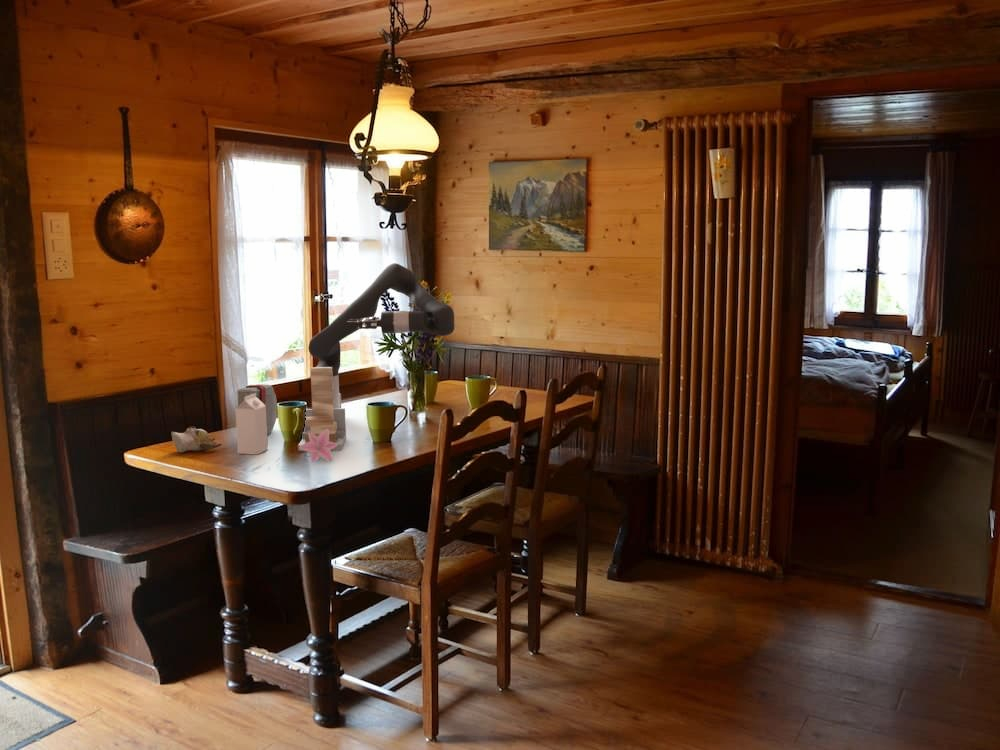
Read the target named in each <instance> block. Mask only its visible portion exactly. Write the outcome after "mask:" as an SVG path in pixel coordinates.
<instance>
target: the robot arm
mask: <svg viewBox="0 0 1000 750" xmlns="http://www.w3.org/2000/svg"><path fill="white" fill-rule="evenodd" d="M390 289H391V290H393V291H394V292H397V293H401V294H403V295H405V296H406V297H408V298H410V299H411V300H412V302H413V304H414V307H415V308H416V309H417V310H412V311H410V310H388V311H387V310H384V311H381V312H380V317H379V316H375V315H376V314H377V309H378V306H379V301H380V299H381V297H382V296H383V295H384V294H385V293H386V292H388V290H390ZM378 327H380V328H381V333H382V334H404V333H405V334H406V333H409V332H410V333H413V332H416V333H417V332H418V333H419V332H423V333H426V334H432V335H435V336H440V337H445V336H449V335H451V334H452V333H453V332H454V331H455V312H454V309H453V308H452V306H451V305H449V304H446V303H444V302H442V301H439V300H438V299H437V298H435V297H434V295H432V294H431V293H430V292H429V291H428V290H427V289H426V288H425V287H424V286H423V285H422V284H421V282H420V281H419V279H418V277H416V275H415V274H414V272H413V271H412V270H410V269H409V268H407V267H406V266H403V265H401V264H400V263H396V262H394V263H390V264H389V265H387V266H386V267H385V268H384V269H383V271H382V272H381V273H380V274H379V275H378V276H377V278H375V279H374V281H373V282H372V283H371V284H370V285H369V286H368V287H367V288H366V289H365V290H364V291H363V292H362V293H361V294H360V295H359V296H358V297H357V298H356V299H354V300H353V301H352V302H351V303H350V304H349V305H348V306H347V307H346V308H345V309H344V310H343V311H342V312H341V313H340V314H339V315H337V317H336V318H335V319H334V320H333V321H332V322H331V323H329V324H328V325H327V327H325V328H324V329H323V330H321V331H319V332H318V333H317V334H316V335H314V336H313V337H312V338H311V339H310V340H309V344H308V352H309V354H310V356H312V357H313V358H315V359H318V360H319V361H318V363H317V365H316V366H315V367H332V372H333V400H334V409H335V408H342V393H340V389H339V388H340V381H339V371H340V367H341V343H340V341H342V340H344V338H347V337H348V336H350V335H351V334H354V333H355V332H357V331H359V330H362V329H363V330H376V329H377V328H378Z"/></svg>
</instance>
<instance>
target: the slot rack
mask: <svg viewBox="0 0 1000 750" xmlns="http://www.w3.org/2000/svg"><path fill="white" fill-rule="evenodd" d="M305 409H306V412H305V415H306V416H305V418H306V417H312V408H305ZM334 422H336V423H337V433H338V439H337V441H336V444H338V446H336V447H334V448H332V449H330V451H342V449H343V447H344V445H345V442H346V440H347V433H346V432H347V431H346V429H347V427H346V425H347V424H346V408H345V407H344V408H343V407H341V408H335V409H334ZM307 431H310V426H306V420H305V427H304V429H303V432H302V433H301V434H302V435H301V437H302V439H301V441H300V442H298V443H299V444H297V450H298V452H306V451H305V450H302V449H300V448H299V447H300V446H301V445H303V444H305V434H306V432H307Z"/></svg>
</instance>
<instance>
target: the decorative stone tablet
mask: <svg viewBox="0 0 1000 750" xmlns="http://www.w3.org/2000/svg"><path fill="white" fill-rule="evenodd" d="M236 393H237V395H236V396H237V407H238V406H239V405H240V404H241V403H242V402H243V401H244V397H246V396H249V395H252V394H255V393H256V397H257V398H258V399H259V400H260V401H261V402H262V403H263V404H264V405H265V406H266V422H267V436H268V435H270V433H271V432H272V431H273V430H274V427H275V424H276V421H277V415H278V412H277V411H278V404H277V395H276V393H275V390H274V388H273V386H272V385H270V384H249V385H246V386H245V387H243V388H239V389H237V391H236Z"/></svg>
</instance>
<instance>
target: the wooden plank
mask: <svg viewBox="0 0 1000 750" xmlns="http://www.w3.org/2000/svg"><path fill="white" fill-rule="evenodd" d="M310 385H311V386H310V388H311V389H310V390H311V391H310V392H311V409H312V417H314V416H333V421H334V400H333V372H332V367H316V366H315V367H312V366H311V367H310Z"/></svg>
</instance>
